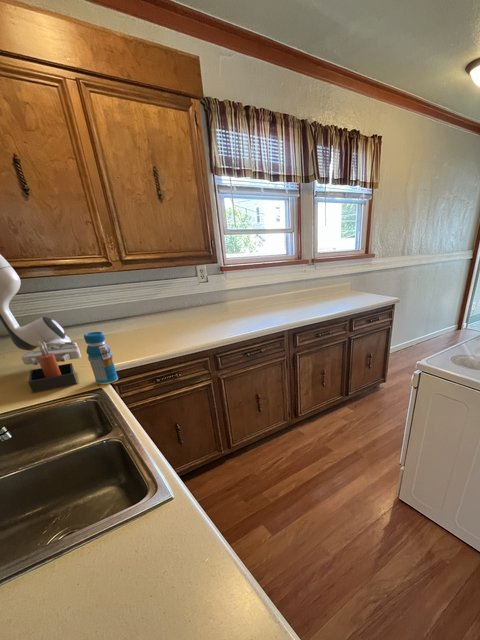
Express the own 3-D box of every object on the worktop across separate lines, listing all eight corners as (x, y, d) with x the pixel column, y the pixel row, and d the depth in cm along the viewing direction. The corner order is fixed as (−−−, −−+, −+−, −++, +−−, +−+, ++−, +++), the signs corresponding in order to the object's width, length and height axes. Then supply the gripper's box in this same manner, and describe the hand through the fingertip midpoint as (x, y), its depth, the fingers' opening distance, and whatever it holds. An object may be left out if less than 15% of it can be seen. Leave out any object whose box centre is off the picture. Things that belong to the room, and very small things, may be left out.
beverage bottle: (94, 386, 130) (79, 337, 121) (97, 378, 137) (82, 332, 128) (118, 383, 133) (104, 335, 124) (119, 375, 140) (106, 330, 131)
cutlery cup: (46, 384, 131) (31, 344, 123) (47, 380, 135) (31, 341, 127) (63, 381, 134) (49, 342, 126) (63, 377, 138) (49, 338, 130)
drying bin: (32, 392, 125) (28, 381, 123) (34, 380, 136) (30, 370, 134) (77, 383, 133) (73, 373, 131) (75, 372, 143) (71, 363, 141)
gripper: (24, 347, 138) (14, 357, 127) (80, 341, 145) (75, 350, 134) (29, 361, 141) (20, 372, 129) (84, 355, 148) (80, 365, 137)
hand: (48, 361), depth 132 cm, fingers open, 8 cm apart
